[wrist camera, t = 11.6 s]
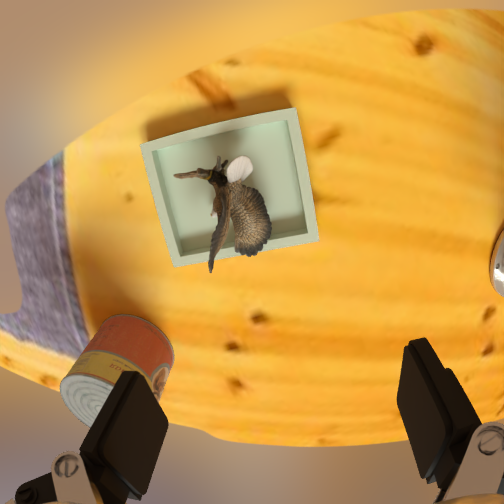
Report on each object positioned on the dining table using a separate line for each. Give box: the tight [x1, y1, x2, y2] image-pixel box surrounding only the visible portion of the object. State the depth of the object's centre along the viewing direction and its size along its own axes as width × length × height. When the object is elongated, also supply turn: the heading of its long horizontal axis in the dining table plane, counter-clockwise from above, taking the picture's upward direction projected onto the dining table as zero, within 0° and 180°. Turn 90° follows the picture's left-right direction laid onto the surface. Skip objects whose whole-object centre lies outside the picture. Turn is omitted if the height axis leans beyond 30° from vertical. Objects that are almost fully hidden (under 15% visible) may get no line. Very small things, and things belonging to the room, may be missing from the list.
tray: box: [140, 107, 319, 267], centre depth 30 cm, size 15×13×2 cm
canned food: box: [60, 314, 174, 428], centre depth 33 cm, size 11×11×12 cm
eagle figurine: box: [173, 156, 272, 273], centre depth 27 cm, size 8×7×9 cm
